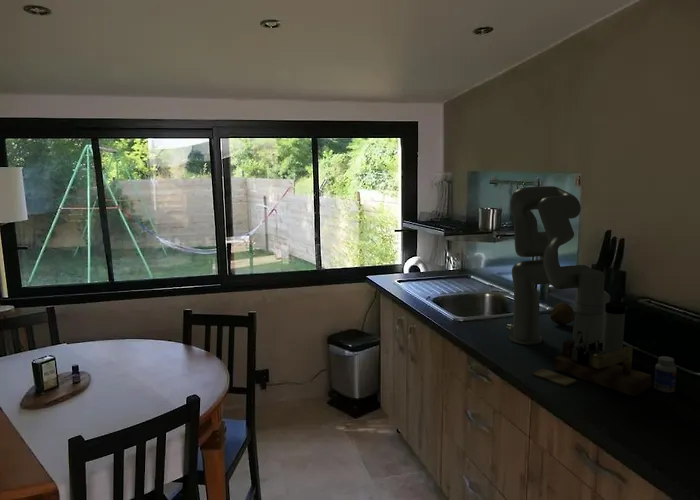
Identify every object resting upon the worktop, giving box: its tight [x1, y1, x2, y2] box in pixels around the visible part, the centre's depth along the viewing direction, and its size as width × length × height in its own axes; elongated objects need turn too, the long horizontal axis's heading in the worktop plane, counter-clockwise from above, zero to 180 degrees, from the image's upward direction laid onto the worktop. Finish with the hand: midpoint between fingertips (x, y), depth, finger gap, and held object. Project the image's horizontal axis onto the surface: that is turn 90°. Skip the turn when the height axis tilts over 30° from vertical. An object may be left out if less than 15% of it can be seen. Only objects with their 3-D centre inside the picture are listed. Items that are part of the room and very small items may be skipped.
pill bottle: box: [653, 355, 678, 393], centre depth 147 cm, size 5×5×10 cm
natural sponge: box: [550, 302, 575, 327], centre depth 207 cm, size 9×9×10 cm
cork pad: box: [531, 368, 577, 388], centre depth 158 cm, size 12×6×1 cm, turn 35°
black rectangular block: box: [571, 345, 609, 371], centre depth 158 cm, size 10×4×4 cm, turn 35°
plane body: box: [553, 339, 653, 398], centre depth 156 cm, size 26×10×9 cm, turn 35°
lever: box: [593, 345, 634, 375], centre depth 146 cm, size 15×2×9 cm, turn 115°
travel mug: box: [602, 301, 628, 353], centre depth 172 cm, size 6×7×20 cm
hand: (586, 361), depth 159 cm, fingers open, 4 cm apart
